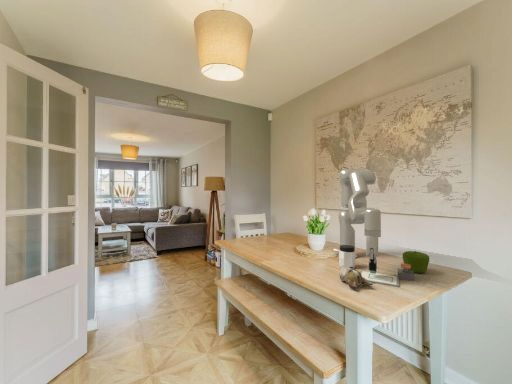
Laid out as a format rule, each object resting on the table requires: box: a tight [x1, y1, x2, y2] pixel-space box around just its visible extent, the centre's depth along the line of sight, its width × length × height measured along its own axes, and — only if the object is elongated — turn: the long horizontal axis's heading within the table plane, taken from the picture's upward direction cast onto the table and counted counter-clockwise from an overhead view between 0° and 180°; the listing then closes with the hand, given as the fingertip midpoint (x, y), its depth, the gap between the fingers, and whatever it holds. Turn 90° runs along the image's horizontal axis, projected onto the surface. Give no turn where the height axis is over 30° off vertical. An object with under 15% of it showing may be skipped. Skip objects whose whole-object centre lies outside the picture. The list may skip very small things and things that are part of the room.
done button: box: [400, 262, 411, 273], centre depth 123 cm, size 4×4×4 cm
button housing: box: [397, 268, 415, 282], centre depth 123 cm, size 7×7×3 cm
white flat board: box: [359, 270, 400, 288], centre depth 121 cm, size 18×15×1 cm
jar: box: [338, 244, 356, 269], centre depth 141 cm, size 9×8×12 cm
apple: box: [402, 250, 430, 274], centre depth 132 cm, size 12×12×11 cm
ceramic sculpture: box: [339, 265, 374, 289], centre depth 113 cm, size 11×9×15 cm
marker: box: [369, 255, 378, 274], centre depth 122 cm, size 3×3×9 cm
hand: (372, 269), depth 122 cm, fingers closed on marker, 3 cm apart
